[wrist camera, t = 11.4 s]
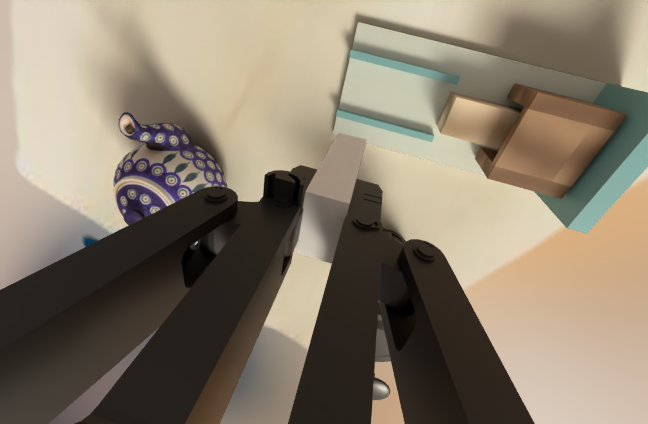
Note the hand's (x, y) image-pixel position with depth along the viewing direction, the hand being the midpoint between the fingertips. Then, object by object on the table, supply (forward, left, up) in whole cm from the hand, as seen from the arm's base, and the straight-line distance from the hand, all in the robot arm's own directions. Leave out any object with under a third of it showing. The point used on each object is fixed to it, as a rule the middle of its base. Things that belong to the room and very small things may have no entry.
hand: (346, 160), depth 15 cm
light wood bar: (0, +15, -24) cm, 28 cm away
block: (0, +19, -23) cm, 30 cm away
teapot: (+20, -25, -25) cm, 40 cm away
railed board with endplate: (0, +11, -25) cm, 27 cm away
